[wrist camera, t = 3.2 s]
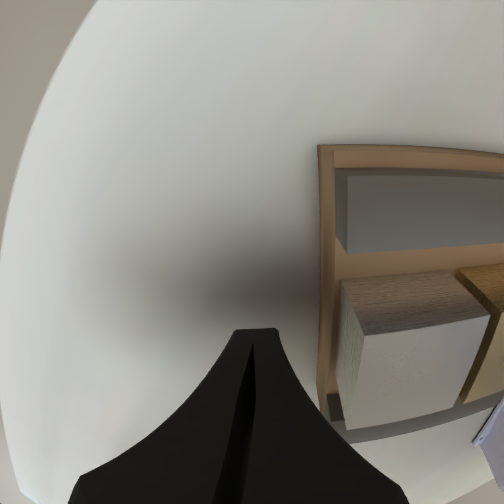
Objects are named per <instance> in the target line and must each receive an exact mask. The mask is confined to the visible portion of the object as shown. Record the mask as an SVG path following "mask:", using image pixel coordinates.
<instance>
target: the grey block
mask: <svg viewBox="0 0 504 504" xmlns="http://www.w3.org/2000/svg"><path fill="white" fill-rule="evenodd" d="M489 318H490V314H489V313H488V311H487V310H486V309H485V308H484V307H483V306H482V305H481V304H480V303H479V302H478V301H477V300H476V299H475V298H474V297H473V296H472V295H471V294H470V293H469V292H468V290H467V289H466V288H465V287H464V286H463V285H462V284H461V283H460V282H459V281H458V280H457V279H456V278H454V277H453V276H452V275H451V274H450V273H449V272H448V271H447V270H446V269H444V270H434V271H424V272H414V273H404V274H393V275H381V276H370V277H357V278H345V279H341V282H340V301H339V317H338V331H337V343H336V354H335V364H334V372H335V377H336V381H337V386H338V390H339V395H340V400H341V404H342V409H343V414H344V419H345V424H346V429H347V430H351V429H358V428H364V427H370V426H376V425H382V424H387V423H392V422H397V421H402V420H406V419H411V418H415V417H419V416H423V415H427V414H431V413H435V412H438V411H442V410H445V409H449V408H452V407H453V405H454V403H455V401H456V399H457V397H458V395H459V393H460V391H461V389H462V387H463V384H464V382H465V380H466V378H467V376H468V373H469V371H470V369H471V366H472V364H473V362H474V359H475V357H476V354H477V352H478V349H479V347H480V344H481V341H482V339H483V336H484V333H485V330H486V327H487V324H488V321H489Z"/></svg>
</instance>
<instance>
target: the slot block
mask: <svg viewBox="0 0 504 504" xmlns="http://www.w3.org/2000/svg"><path fill="white" fill-rule="evenodd" d="M317 149H318V169H319V194H320V242H321V273H320V322H319V347H318V366H317V382H316V385H317V392H318V399H319V406H320V412H321V414H322V415H323V416H324V418H325V419H326V420H327V421H328V422H329V424H330V425H331V426H332V427H333V428H334V429H335V430H336V432H337V433H338V434H339V435H340V436H341V437H342V438H343V439H344V440H345V441H346V442H347V443H348V444H353V443H359V442H365V441H371V440H377V439H382V438H387V437H392V436H397V435H401V434H406V433H410V432H414V431H418V430H422V429H426V428H429V427H433V426H437V425H440V424H443V423H447V422H450V421H453V420H456V419H459V418H462V417H465V416H468V415H471V414H474V413H477V412H479V411H482V410H485V409H487V408H490V407H493V406H495V405H498V404H499V403H500V402H501V400H502V398H503V397H504V390H502V391H499V392H496V393H494V394H491V395H488V396H486V397H483V398H480V399H477V400H474V401H471V402H468V403H465V404H463V403H462V401H461V399H460V398H459V396H458V397H457V399H456V401H455V403H454V405H453V407H452V408H449V409H445V410H442V411H438V412H435V413H431V414H427V415H423V416H419V417H415V418H411V419H406V420H402V421H397V422H392V423H387V424H382V425H376V426H370V427H364V428H358V429H351V430H347V429H346V424H345V419H344V414H343V409H342V404H341V400H340V395H339V390H338V386H337V381H336V377H335V372H334V364H335V354H336V343H337V331H338V317H339V301H340V282H341V279H345V278H357V277H370V276H381V275H393V274H404V273H414V272H424V271H434V270H444V269H446V270H447V271H448V272H449V273H450V274H451V275H452V276H453V277H454V278H455V275H456V269H457V268H462V267H471V266H480V265H488V264H496V263H504V154H498V153H490V152H482V151H473V150H464V149H453V148H441V147H426V146H408V145H374V144H336V145H317Z"/></svg>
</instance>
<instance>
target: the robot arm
mask: <svg viewBox="0 0 504 504" xmlns="http://www.w3.org/2000/svg"><path fill="white" fill-rule="evenodd" d="M472 445H473V447H476V446H478V445H481V448H482V450H483V452H484V454H485V457H486V459H487V461H488V464H489V466H490V468H491V471H492V473H493V476H494V478H495V480H496V483H497V485H498V487H499V489H500V490H501V491H502V492H503V493H504V397H503V398H502V400H501V402H500V403H499V404H498V405H497V407H496V408H495V410H494V412H493V413H492V415H491V416H490V418H489V420H488V421H487V423H486V424H485V426H484V427H483V429H482V430H481V432H480V433H479V434H478V436H477V437H476V439H475V440H474V441H473V443H472ZM0 504H1V503H0ZM68 504H409V502H408V499H407V497H406V496H405V494H404V492H403V490H402V488H401V487H400V486H399V485H398V484H397V483H395V482H394V481H392V480H391V479H389V478H388V477H387V476H385V475H384V474H383V473H381V472H380V471H379V470H377V469H376V468H375V467H374V466H372V465H371V464H370V463H369V462H368V461H367V460H365V459H364V458H363V457H362V456H361V455H360V454H358V453H357V452H356V451H355V450H354V449H353V448H352V447H351V446H350V445H349V444H348V443H347V442H346V441H345V440H344V439H343V438H342V437H341V436H340V435H339V434H338V433H337V432H336V430H335V429H334V428H333V427H332V426H331V425H330V424H329V422H328V421H327V420H326V419H325V418H324V416H323V415H322V414H321V412H320V411H319V410H318V409H317V407H316V406H315V405H314V403H313V402H312V400H311V399H310V397H309V396H308V394H307V393H306V391H305V390H304V388H303V387H302V385H301V383H300V382H299V380H298V378H297V376H296V375H295V373H294V371H293V369H292V367H291V365H290V363H289V361H288V359H287V357H286V354H285V352H284V349H283V347H282V344H281V341H280V337H279V331H278V330H277V329H276V328H264V329H240V330H235V331H234V332H233V334H232V336H231V338H230V340H229V341H228V343H227V345H226V347H225V348H224V350H223V352H222V353H221V355H220V356H219V358H218V359H217V361H216V362H215V364H214V365H213V367H212V368H211V370H210V371H209V372H208V374H207V375H206V377H205V378H204V379H203V380H202V382H201V383H200V384H199V385H198V387H197V388H196V389H195V390H194V392H193V393H192V394H191V395H190V396H189V397H188V399H187V400H186V401H185V402H184V403H183V404H182V405H181V406H180V407H179V408H178V409H177V410H176V411H175V412H174V413H173V414H172V415H171V416H170V417H169V418H168V419H167V420H166V421H164V422H163V423H162V424H161V425H160V426H159V427H158V428H157V429H155V430H154V431H153V432H152V433H150V434H149V435H148V436H147V437H145V438H144V439H143V440H141V441H140V442H138V443H137V444H136V445H134V446H133V447H131V448H130V449H128V450H127V451H125V452H124V453H122V454H121V455H119V456H118V457H116V458H114V459H113V460H111V461H109V462H107V463H105V464H103V465H101V466H99V467H97V468H96V469H94V470H92V471H90V472H88V473H85V474H83V475H81V476H80V477H79V479H78V481H77V483H76V484H75V486H74V488H73V491H72V494H71V496H70V499H69V501H68Z"/></svg>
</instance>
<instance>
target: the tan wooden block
mask: <svg viewBox="0 0 504 504" xmlns="http://www.w3.org/2000/svg"><path fill="white" fill-rule="evenodd" d="M455 278H456V279H457V280H458V281H459V282H460V283H461V284H462V285H463V286H464V287H465V288H466V289H467V290H468V292H469V293H470V294H471V295H472V296H473V297H474V298H475V299H476V300H477V301H478V302H479V303H480V304H481V305H482V306H483V307H484V308H485V309H486V310H487V311H488V313H489V314H490V318H489V321H488V324H487V327H486V330H485V333H484V336H483V339H482V341H481V344H480V347H479V349H478V352H477V354H476V357H475V359H474V362H473V364H472V366H471V369H470V371H469V373H468V376H467V378H466V380H465V382H464V384H463V387H462V389H461V391H460V393H459V395H458V396H459V398H460V399H461V401H462V403H463V404H465V403H468V402H471V401H474V400H477V399H480V398H483V397H486V396H488V395H491V394H494V393H496V392H499V391H502V390H504V263H496V264H488V265H480V266H471V267H462V268H457V269H456V275H455Z"/></svg>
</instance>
